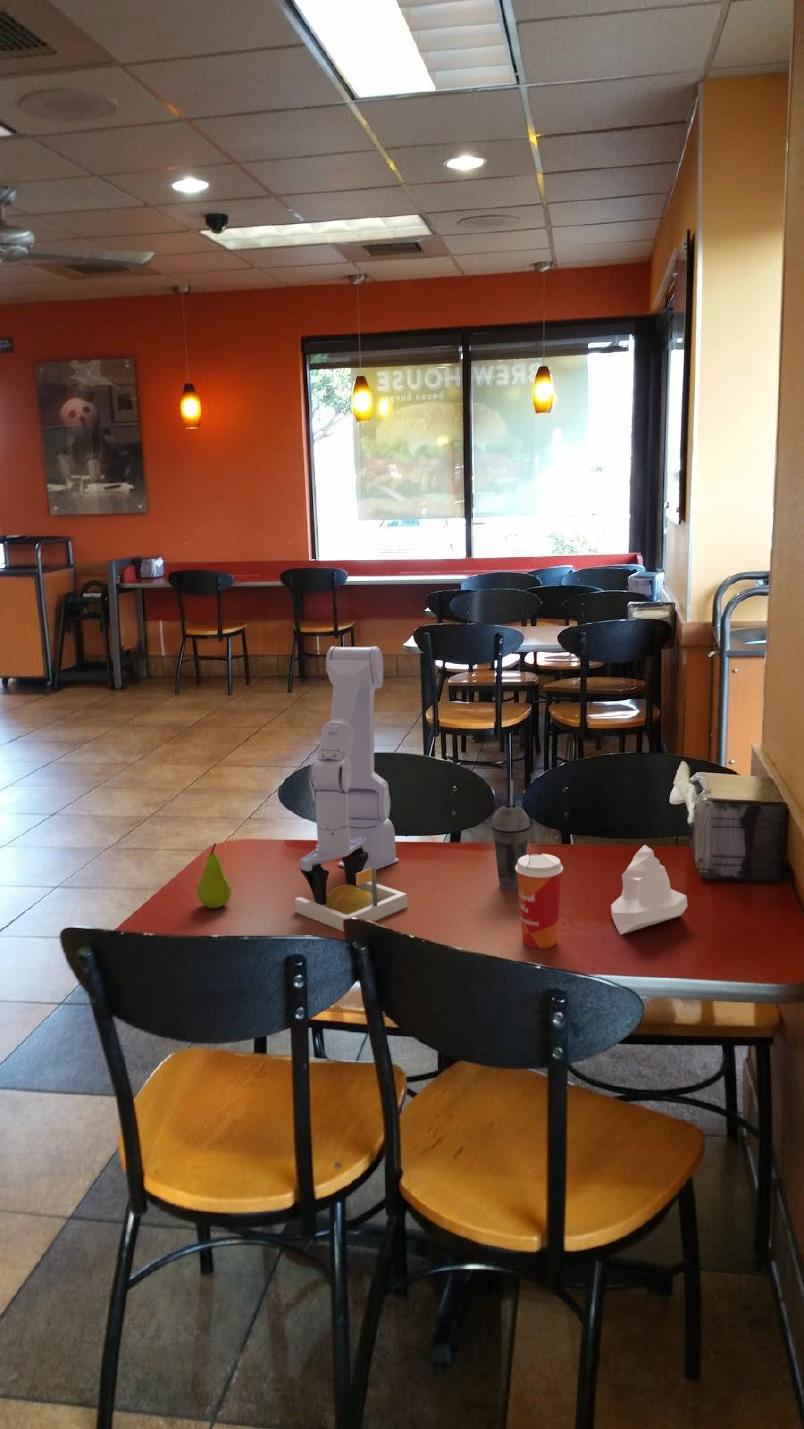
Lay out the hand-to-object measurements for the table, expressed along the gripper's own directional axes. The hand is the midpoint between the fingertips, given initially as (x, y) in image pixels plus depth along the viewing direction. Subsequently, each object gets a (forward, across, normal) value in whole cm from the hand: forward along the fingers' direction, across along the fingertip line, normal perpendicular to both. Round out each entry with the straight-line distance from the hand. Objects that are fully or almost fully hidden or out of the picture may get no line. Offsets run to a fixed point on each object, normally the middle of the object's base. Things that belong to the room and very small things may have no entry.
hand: (336, 896), depth 192 cm
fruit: (+2, +14, -17) cm, 22 cm away
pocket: (+1, 0, +4) cm, 4 cm away
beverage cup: (+2, -26, +19) cm, 33 cm away
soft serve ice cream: (+2, -27, +47) cm, 54 cm away
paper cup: (+2, -10, +38) cm, 39 cm away
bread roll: (+2, 0, +4) cm, 4 cm away
